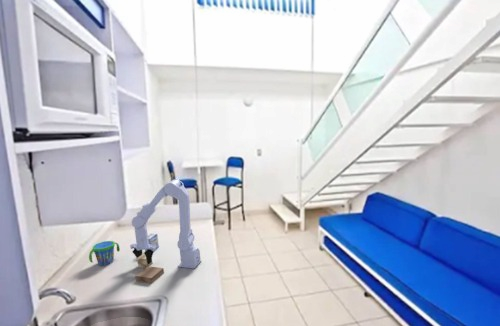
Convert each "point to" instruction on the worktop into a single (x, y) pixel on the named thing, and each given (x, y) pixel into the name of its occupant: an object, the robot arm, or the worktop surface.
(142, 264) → the maple cube
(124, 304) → the worktop surface
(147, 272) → the walnut block
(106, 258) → the snack cup
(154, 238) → the medicine box
